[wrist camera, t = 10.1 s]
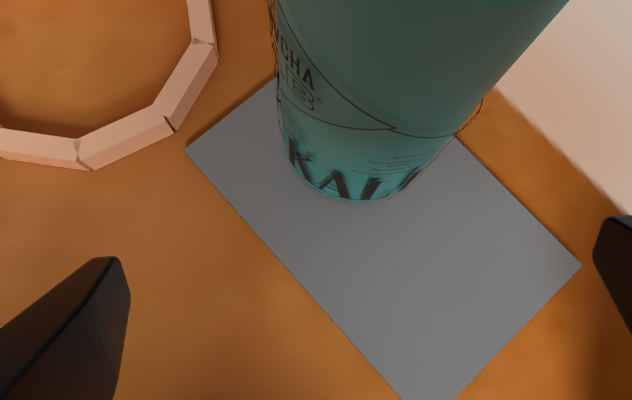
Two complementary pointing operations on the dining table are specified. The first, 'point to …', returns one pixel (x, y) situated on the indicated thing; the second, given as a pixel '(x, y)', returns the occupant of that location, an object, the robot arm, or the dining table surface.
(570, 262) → the rubber mat
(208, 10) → the pale pink ring
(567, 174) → the dining table surface
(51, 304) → the robot arm
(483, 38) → the beverage bottle
